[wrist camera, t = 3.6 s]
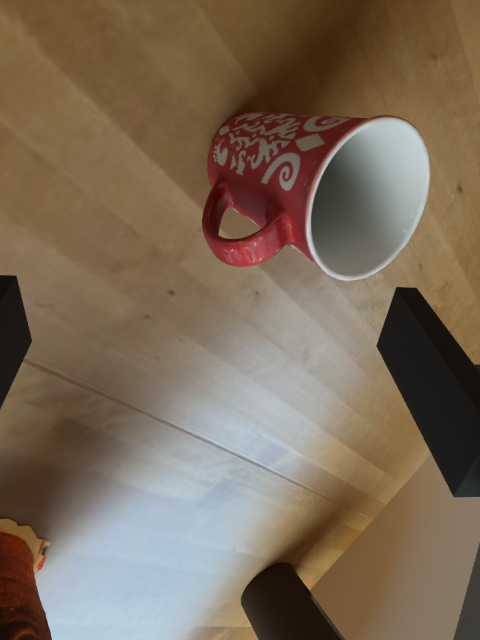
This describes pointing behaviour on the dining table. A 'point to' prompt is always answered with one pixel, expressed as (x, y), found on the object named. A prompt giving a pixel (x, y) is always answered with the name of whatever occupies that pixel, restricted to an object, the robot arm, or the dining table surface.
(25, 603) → the vessel
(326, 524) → the dining table surface
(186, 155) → the dining table surface
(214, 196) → the mug
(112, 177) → the dining table surface
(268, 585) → the olive oil
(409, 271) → the dining table surface
